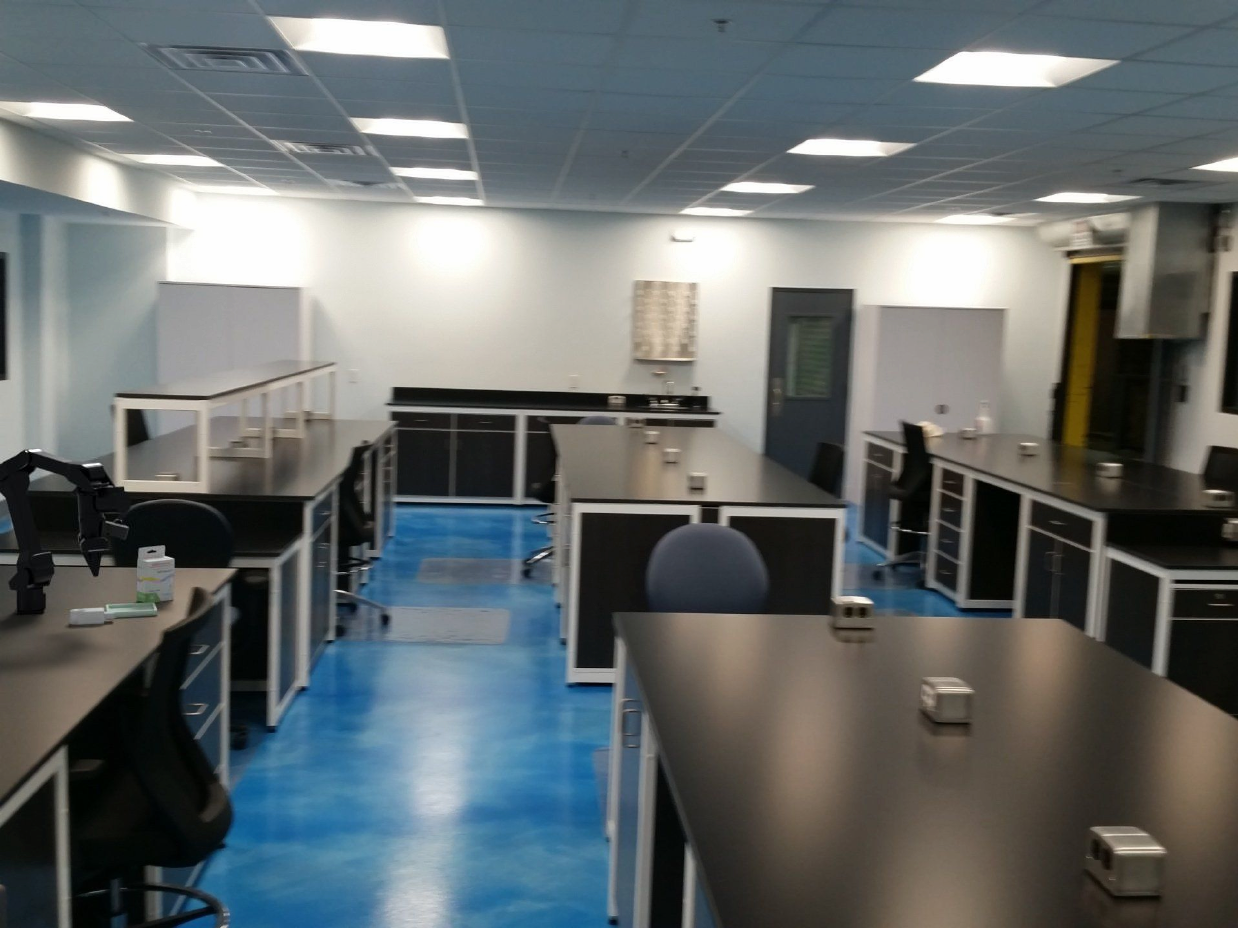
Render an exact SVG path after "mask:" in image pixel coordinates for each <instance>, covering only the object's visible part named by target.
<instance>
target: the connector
mask: <svg viewBox="0 0 1238 928" xmlns="http://www.w3.org/2000/svg"><path fill="white" fill-rule="evenodd" d="M69 614H70V615H69V621H70V622H69V623H70V625H74V626H75V625H76V626H77V625H99V624H105V620H113V619H115V618H114V611H109V612H106V611H105V607H89V608H75V609H71V610H70V611H69Z"/></svg>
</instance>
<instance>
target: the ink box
mask: <svg viewBox="0 0 1238 928" xmlns="http://www.w3.org/2000/svg"><path fill="white" fill-rule="evenodd" d="M151 551H155V552H151ZM149 552H150V553H149ZM165 552H166V546H165V545H156V546H155V545H154V546H146V547H145V546H144V547H139V548H138V556H137V569H136V570H137V571H136V573H137V574H136V575H137V576H136V581H137V582H136V601H138V602H139V603H153V602H154V603H161V602H166V601H172V600H173V601H174V597H175V596H174V593H175V592H174V589H175V558H173V557H170V556H166V555H165Z"/></svg>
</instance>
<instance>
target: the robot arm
mask: <svg viewBox="0 0 1238 928" xmlns="http://www.w3.org/2000/svg"><path fill="white" fill-rule="evenodd" d="M37 469H40V470H43V471H45V472H46V471H47V472H49V473H53V474H55V475H59V476H62V477H64V478H65V479H66V480H67V482H69V483H71V484H73V485H74V486H75V487H74V489H73V490H72V491H71V492H69V494H70V496H77V506H78V522H79V523H78V524H79V533H78V534H77V539H78V540H77V541H78V543H79V545H78V546H79V548H80V552H81V554H82V556H83V558H84V561H85V562H86V564H87V566H88V568H89V570H90V572H91V574H92V576H93V578H96V577H99V575H100V569H101V568H100V567H101V562H102V557H103V555H104V554H105V553H107V552H108V550H109V549H110V547H109V540H108V539H107V538H108V537H107V536H110V537H115V538H118V539H120V540H124V541H125V540H126V539H127V536H128V533H129V529H130V528H129V526H127V525H125V524H124V523H123V520H122V519H118V518H115V519H114V520H113V521H108V520H106V517H105V515H104V514H122V515H123V514H124V515H125V514H126V513H128V511H129V510H130V509H131V506H132V498H131V497H130V495H129V493H128V492H127V491H126V490H125V485H124V486H122V485H119V486H116V485H115V484H114V482H113V480H112V479H111V478H110V476H109V475H108V473H107V472H106V470H105V468H104V465H103V464H102V463H100V462H94V461H77V460H76V461H75V460H71V459H69V458H66V457H63V456H59V455H56V454H52V453H49V452H46V451H43V450H42V449H39V448H27V449H22V451H20V452H18V453H17V454H16V455H14V456H12V457H10V458H8V459H6V460H5V461H3V462H1V463H0V494H1V495H2V496H3V497H4V499H5V501H6V505H7V508H8V512H9V516H10V520H11V523H12V524H11V525H12V527H13V531H14V534H15V539H16V543H17V546H18V550H19V554H18V557H17V560H16V564H15V565H16V573H15V574H14V575H13V576H12V577H11V578H10V579H9V581H7V582H8V587H9V589H10V590H11V591H15V593H16V596H15V598H16V600H15V602H16V603H15V604H16V607H15V615H22V614H23V615H24V614H28V615H29V614H43V613H45V610H46V609H47V592H46V591H44V587H50V584H51V581H52V579H53V577H54V575H55V567H56V564H55V562H54V560H53V559H54V558H53V554H52V552H51V551H48V552H47V551H45V550H44V549H43V548H42V547H41V543H40V541H39V540H40V539H39V537H38V536H39V535H38V532H37V529H36V524H35V522H34V521H35V520H34V517H33V516H34V515H33V513H32V510H31V509H32V508H31V506H30V502H29V497H28V492H29V488H30V485H31V478H30V477H31V476H30V475H32V474H33V473H34V472H36V471H37Z"/></svg>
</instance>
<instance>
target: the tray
mask: <svg viewBox="0 0 1238 928" xmlns="http://www.w3.org/2000/svg"><path fill="white" fill-rule="evenodd" d="M109 611H114V619H115V618H116V619H117V618H135V617H151V616H152V617H153V616H154V617H155V616H158V609H157V606H156V602H153V603H143V602H136V603H135V602H134V603H115V604H105V612H109Z"/></svg>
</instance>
